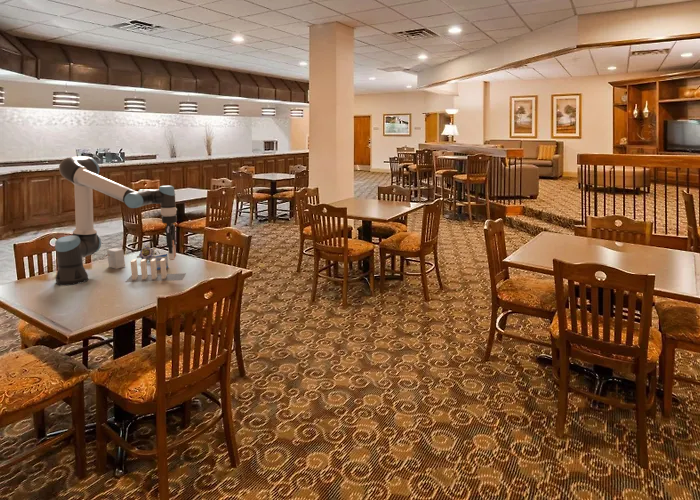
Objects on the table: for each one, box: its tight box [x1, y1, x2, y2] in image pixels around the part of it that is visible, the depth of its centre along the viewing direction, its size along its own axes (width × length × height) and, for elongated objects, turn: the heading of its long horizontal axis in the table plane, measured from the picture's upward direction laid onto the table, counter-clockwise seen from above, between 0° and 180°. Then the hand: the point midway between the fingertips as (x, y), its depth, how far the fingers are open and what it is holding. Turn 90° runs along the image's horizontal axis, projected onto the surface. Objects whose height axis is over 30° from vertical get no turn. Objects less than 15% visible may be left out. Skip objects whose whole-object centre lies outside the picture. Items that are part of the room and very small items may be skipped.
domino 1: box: [130, 258, 139, 280], centre depth 271 cm, size 2×5×10 cm, turn 9°
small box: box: [106, 247, 126, 270], centre depth 296 cm, size 8×6×10 cm
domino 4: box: [160, 258, 168, 279], centre depth 274 cm, size 2×5×10 cm, turn 9°
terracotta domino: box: [169, 240, 176, 261], centre depth 272 cm, size 2×5×10 cm, turn 9°
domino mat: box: [125, 273, 187, 283], centre depth 274 cm, size 29×13×1 cm, turn 99°
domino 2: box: [140, 258, 149, 279], centre depth 272 cm, size 2×5×10 cm, turn 9°
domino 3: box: [149, 259, 158, 279], centre depth 273 cm, size 2×5×10 cm, turn 9°
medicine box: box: [151, 252, 169, 271], centre depth 292 cm, size 8×4×9 cm, turn 143°
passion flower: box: [136, 245, 161, 264], centre depth 309 cm, size 11×11×12 cm
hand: (172, 257), depth 273 cm, fingers closed on terracotta domino, 5 cm apart
